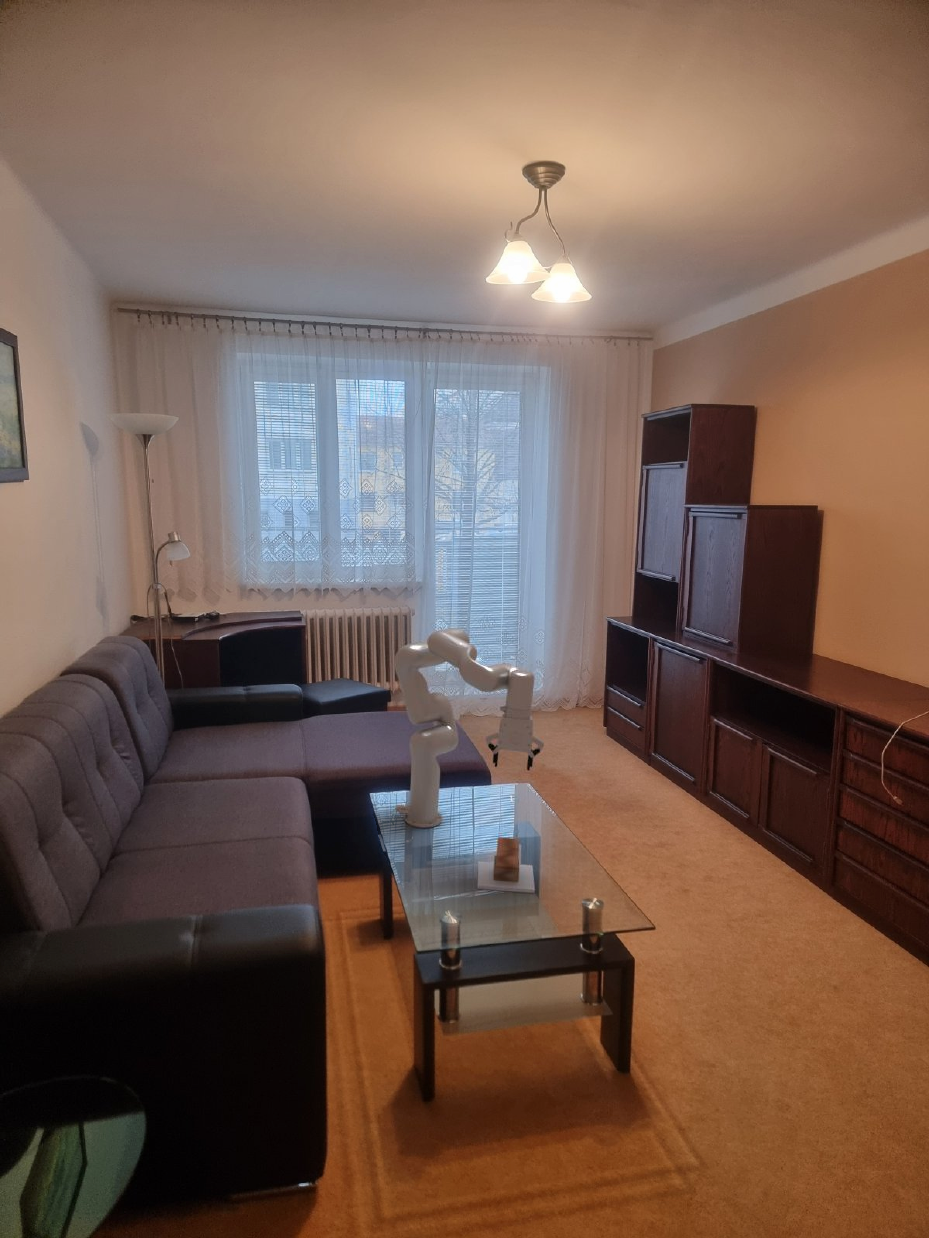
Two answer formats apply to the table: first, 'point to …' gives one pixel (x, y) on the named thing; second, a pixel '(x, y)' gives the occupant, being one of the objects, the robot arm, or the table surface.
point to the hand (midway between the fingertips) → (512, 767)
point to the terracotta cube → (507, 852)
